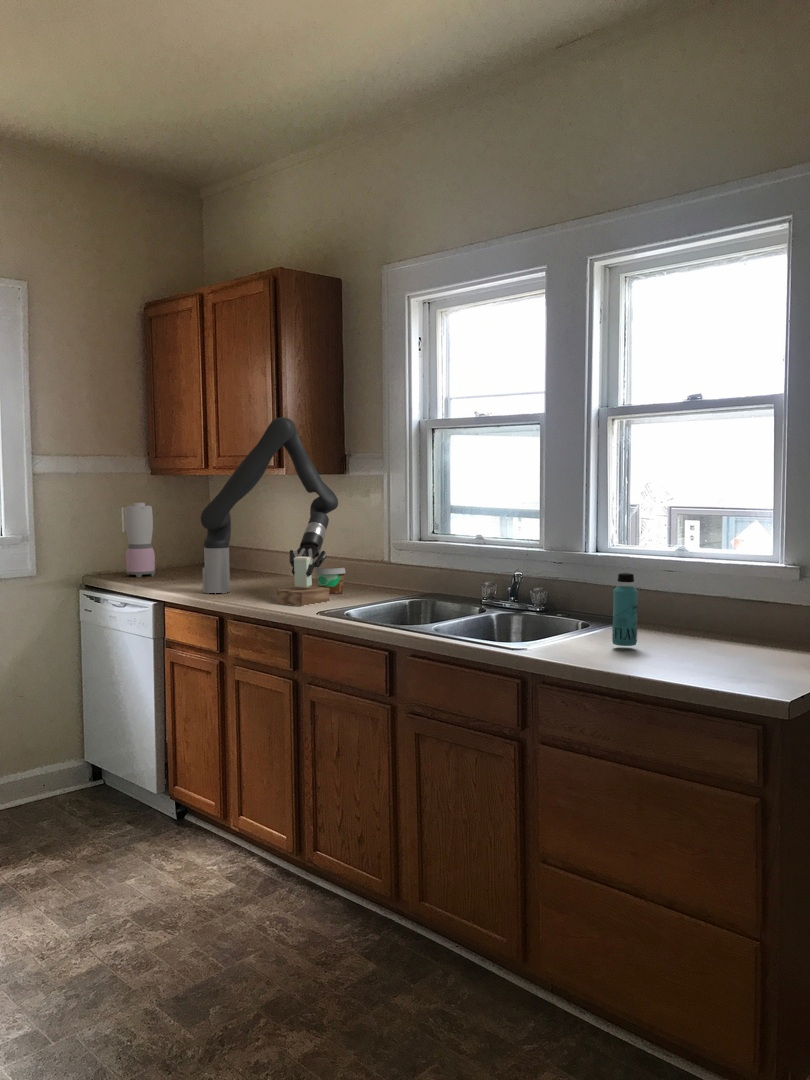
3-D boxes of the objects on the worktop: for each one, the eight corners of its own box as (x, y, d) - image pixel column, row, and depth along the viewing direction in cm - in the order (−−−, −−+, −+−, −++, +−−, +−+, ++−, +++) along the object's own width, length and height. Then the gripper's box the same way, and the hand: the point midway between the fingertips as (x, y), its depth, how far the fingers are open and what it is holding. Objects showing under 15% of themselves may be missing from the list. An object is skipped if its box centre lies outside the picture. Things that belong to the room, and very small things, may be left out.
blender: (160, 575, 389) (158, 502, 386) (134, 578, 380) (132, 503, 378) (144, 572, 400) (141, 501, 398) (118, 574, 392) (116, 502, 389)
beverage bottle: (610, 650, 229) (611, 574, 228) (613, 645, 236) (614, 571, 234) (635, 652, 227) (637, 575, 225) (638, 647, 233) (640, 572, 232)
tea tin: (294, 586, 310) (293, 557, 309) (299, 584, 315) (299, 556, 314) (306, 586, 309) (306, 558, 308) (312, 585, 313) (311, 556, 312)
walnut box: (276, 604, 310) (276, 589, 310) (305, 599, 321) (304, 585, 321) (301, 607, 303) (301, 592, 302) (329, 602, 314) (329, 588, 314)
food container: (309, 594, 332) (308, 567, 331) (318, 592, 337) (317, 566, 337) (337, 596, 326) (336, 569, 325) (345, 594, 332) (345, 567, 331)
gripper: (292, 530, 319) (278, 567, 309) (329, 531, 315) (317, 568, 305) (298, 543, 325) (285, 580, 314) (334, 544, 321) (322, 582, 310)
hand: (301, 574), depth 309 cm, fingers closed on tea tin, 4 cm apart
